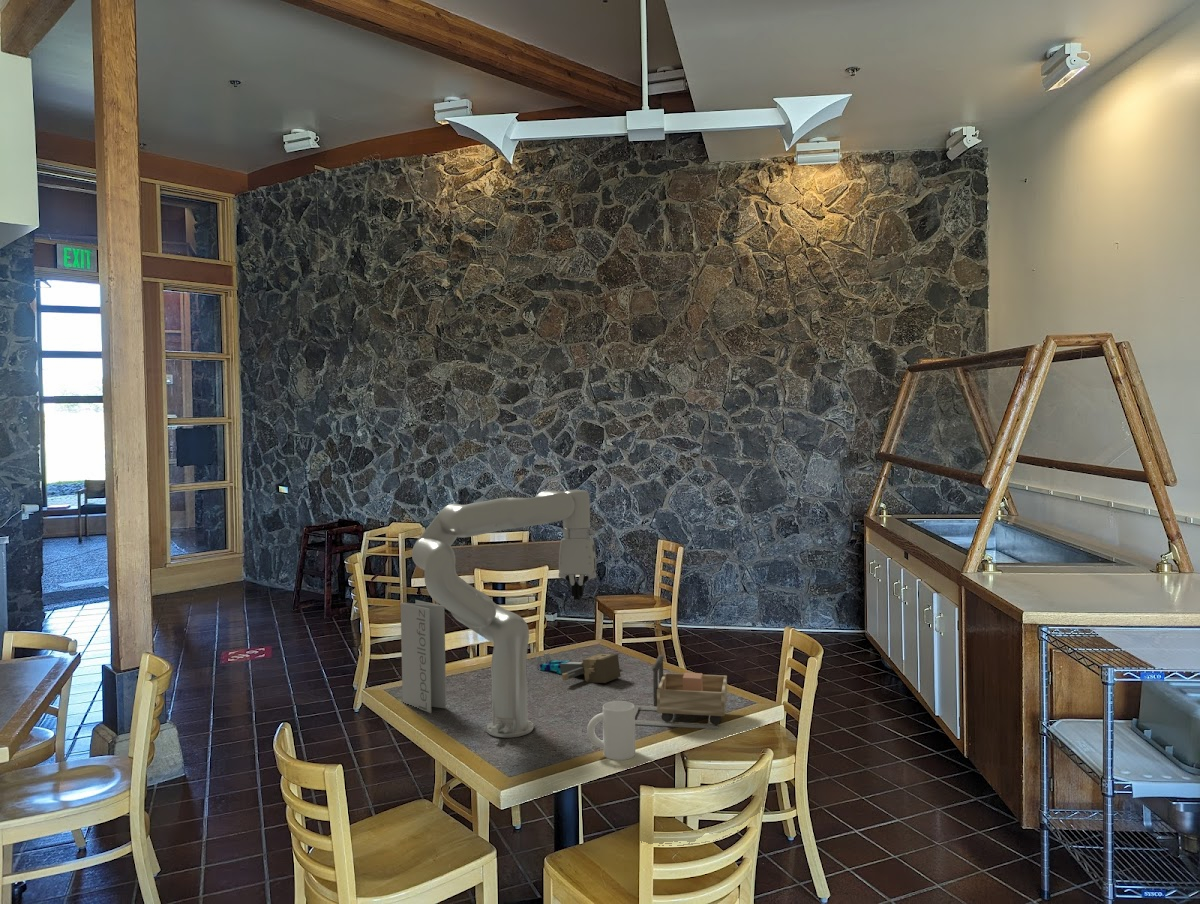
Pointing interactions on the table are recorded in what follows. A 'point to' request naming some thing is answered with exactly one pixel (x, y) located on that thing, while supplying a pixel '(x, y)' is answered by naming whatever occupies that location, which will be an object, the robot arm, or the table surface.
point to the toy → (584, 667)
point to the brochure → (423, 655)
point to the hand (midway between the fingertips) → (577, 598)
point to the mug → (615, 730)
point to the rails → (671, 724)
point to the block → (693, 681)
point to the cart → (688, 695)
